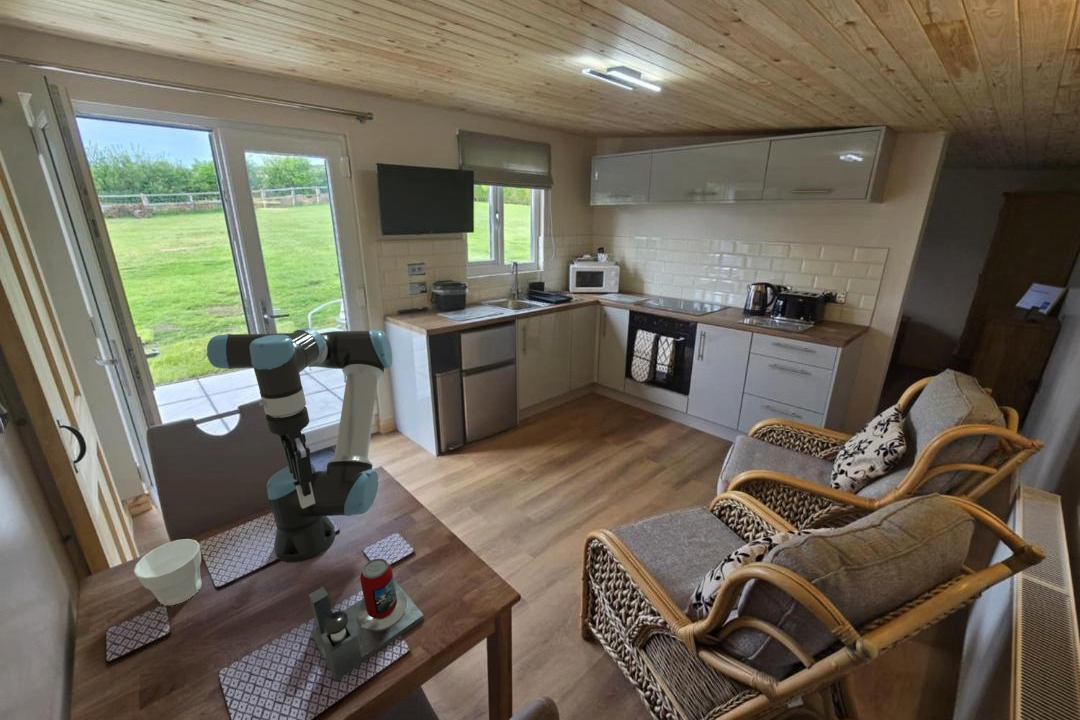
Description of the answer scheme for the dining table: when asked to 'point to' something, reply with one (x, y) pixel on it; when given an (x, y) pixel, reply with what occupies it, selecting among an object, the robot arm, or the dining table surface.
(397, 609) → the press
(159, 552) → the cup
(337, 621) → the plunger
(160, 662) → the dining table surface
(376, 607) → the beverage can
